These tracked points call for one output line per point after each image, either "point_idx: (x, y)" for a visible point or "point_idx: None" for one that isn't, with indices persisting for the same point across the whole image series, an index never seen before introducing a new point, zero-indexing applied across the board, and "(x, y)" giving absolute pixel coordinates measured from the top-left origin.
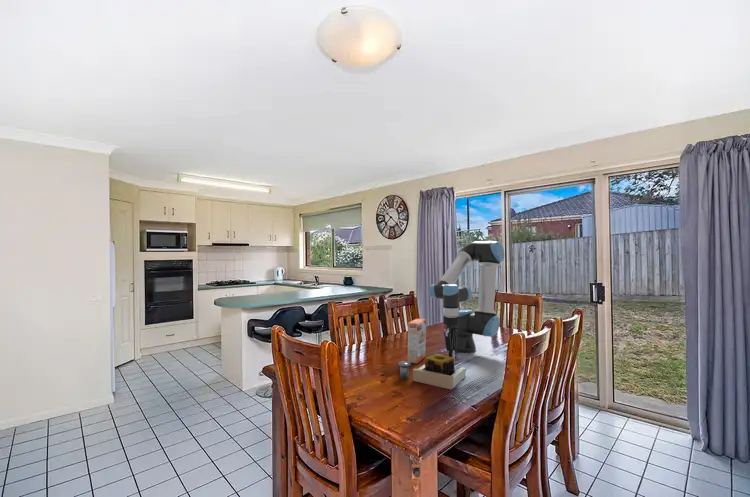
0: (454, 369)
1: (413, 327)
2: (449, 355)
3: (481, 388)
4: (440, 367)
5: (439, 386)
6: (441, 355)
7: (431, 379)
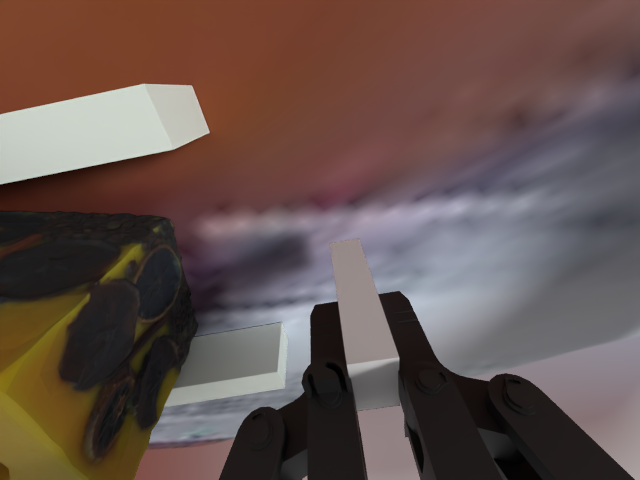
0: (172, 387)
1: None
2: (312, 335)
3: (221, 414)
4: None
5: None
6: (7, 447)
7: None
